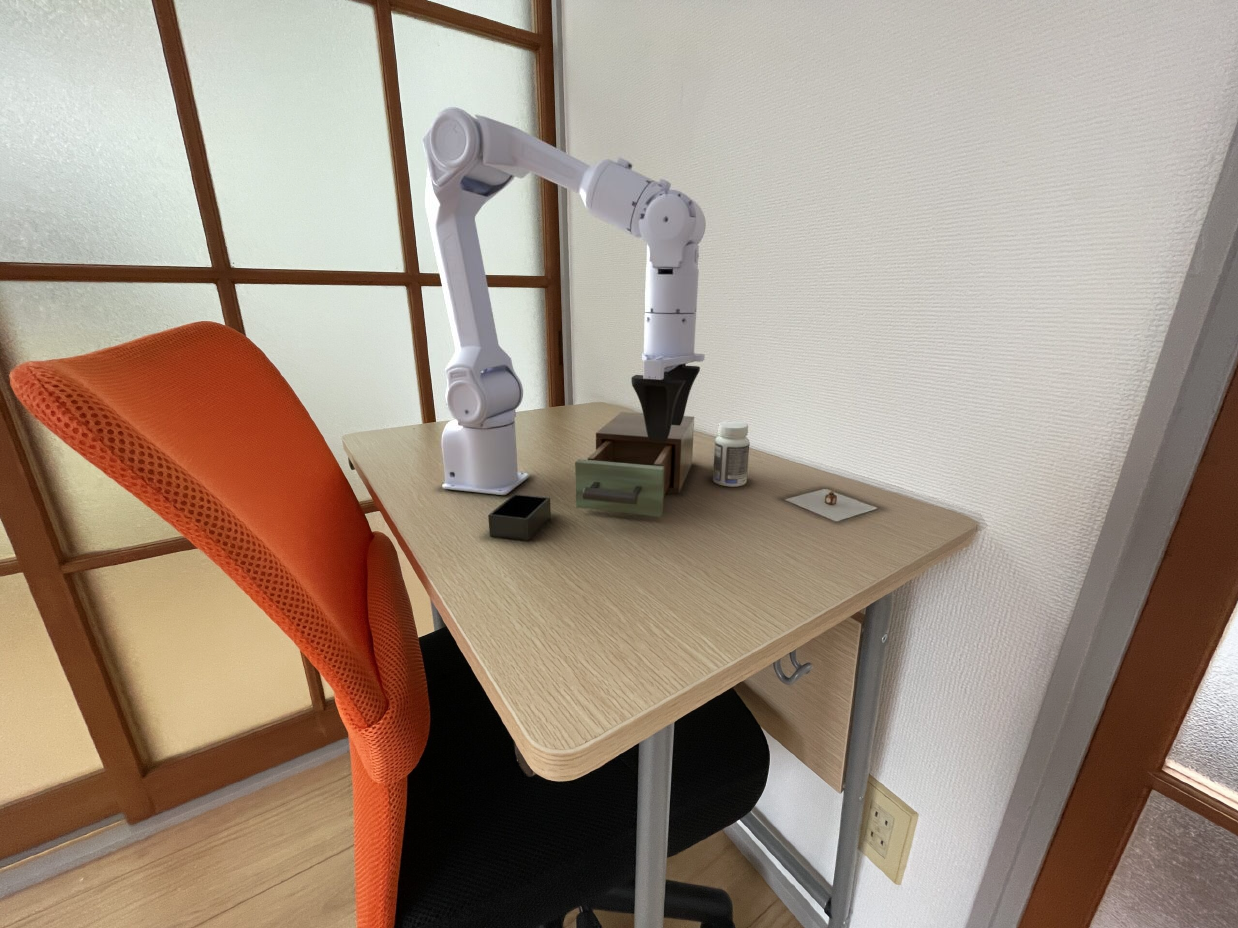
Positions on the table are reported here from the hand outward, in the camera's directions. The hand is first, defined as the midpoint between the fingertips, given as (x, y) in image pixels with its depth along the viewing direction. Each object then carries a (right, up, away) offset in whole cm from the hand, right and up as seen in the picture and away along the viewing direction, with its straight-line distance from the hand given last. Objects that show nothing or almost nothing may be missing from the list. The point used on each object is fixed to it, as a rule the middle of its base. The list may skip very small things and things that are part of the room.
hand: (665, 431), depth 63 cm
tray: (-17, -11, -2) cm, 20 cm away
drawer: (-5, -8, +3) cm, 10 cm away
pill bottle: (+10, -7, +13) cm, 17 cm away
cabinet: (-1, -5, +15) cm, 16 cm away
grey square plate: (+22, -9, +5) cm, 24 cm away
